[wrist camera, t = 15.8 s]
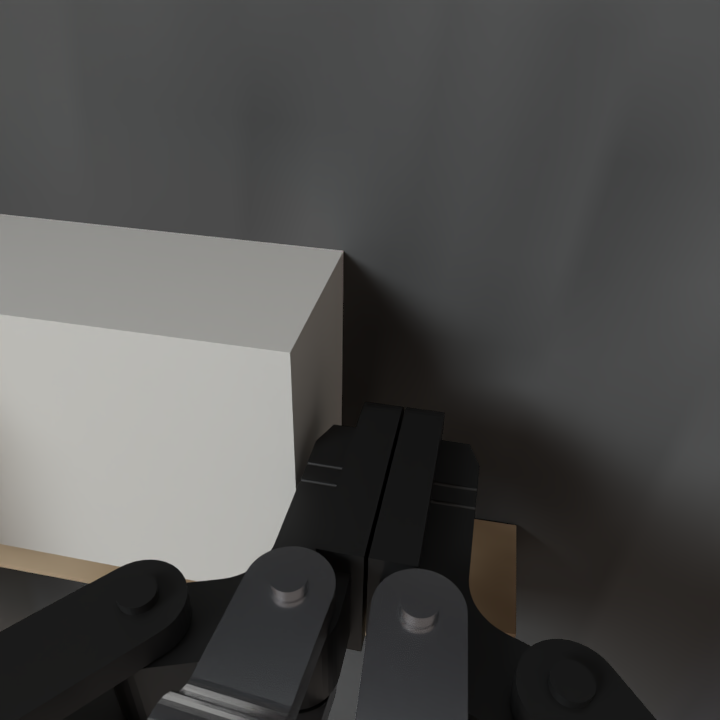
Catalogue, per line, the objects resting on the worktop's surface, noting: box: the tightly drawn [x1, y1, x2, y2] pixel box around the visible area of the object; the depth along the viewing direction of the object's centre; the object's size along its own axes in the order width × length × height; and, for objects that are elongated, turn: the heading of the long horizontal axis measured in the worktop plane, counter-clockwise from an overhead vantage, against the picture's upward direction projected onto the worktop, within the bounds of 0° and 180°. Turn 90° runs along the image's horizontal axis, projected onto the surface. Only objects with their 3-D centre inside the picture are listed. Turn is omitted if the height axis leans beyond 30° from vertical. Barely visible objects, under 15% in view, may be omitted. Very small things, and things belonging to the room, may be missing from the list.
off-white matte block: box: [0, 214, 343, 581], centre depth 14 cm, size 8×6×4 cm
